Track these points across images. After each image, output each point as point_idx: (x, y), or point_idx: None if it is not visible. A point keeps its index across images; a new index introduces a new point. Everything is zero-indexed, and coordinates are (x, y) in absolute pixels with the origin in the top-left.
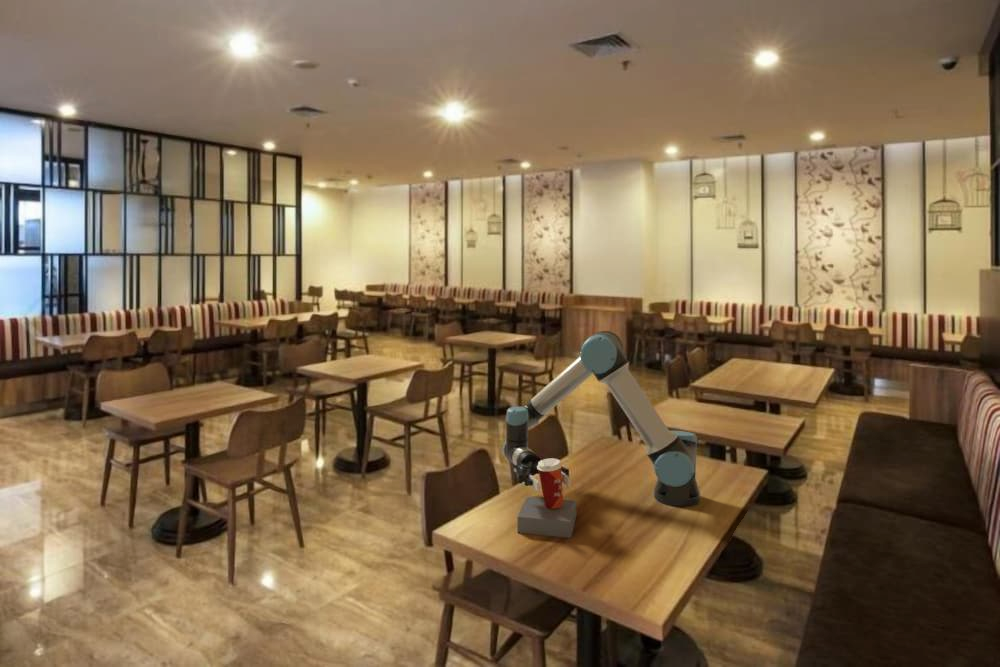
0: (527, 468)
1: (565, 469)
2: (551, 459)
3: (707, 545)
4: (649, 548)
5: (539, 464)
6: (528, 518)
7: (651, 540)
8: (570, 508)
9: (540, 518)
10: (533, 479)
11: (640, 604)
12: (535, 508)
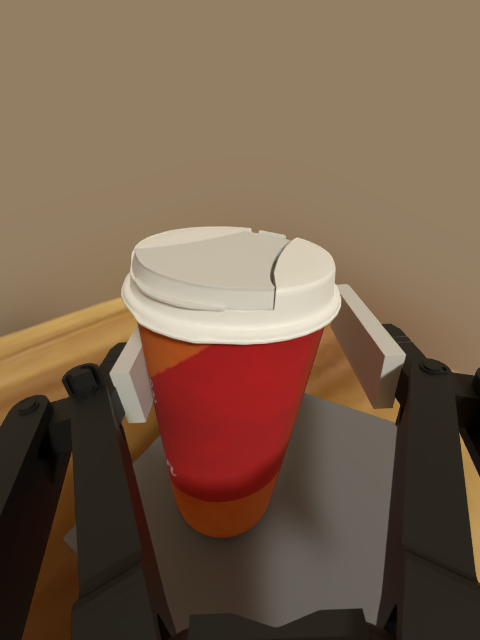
0: (470, 573)
1: (32, 414)
2: (180, 263)
3: (7, 337)
4: (103, 344)
5: (323, 256)
6: (368, 416)
7: (66, 364)
8: (163, 453)
9: (320, 400)
10: (367, 308)
11: None
12: (327, 495)
